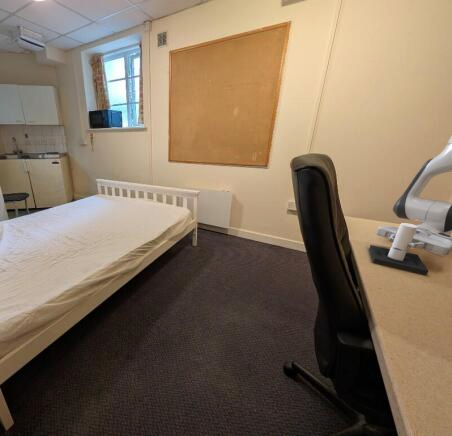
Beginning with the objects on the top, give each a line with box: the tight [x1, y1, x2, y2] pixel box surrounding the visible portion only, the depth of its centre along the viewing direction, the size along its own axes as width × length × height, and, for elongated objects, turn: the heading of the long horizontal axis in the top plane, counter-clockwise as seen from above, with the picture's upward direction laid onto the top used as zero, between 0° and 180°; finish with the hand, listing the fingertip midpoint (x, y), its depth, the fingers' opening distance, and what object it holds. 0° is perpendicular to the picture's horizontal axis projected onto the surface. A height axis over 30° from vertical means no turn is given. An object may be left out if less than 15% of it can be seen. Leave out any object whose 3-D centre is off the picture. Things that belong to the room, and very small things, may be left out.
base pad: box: [368, 244, 429, 276], centre depth 86 cm, size 14×14×2 cm
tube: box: [388, 222, 417, 261], centre depth 84 cm, size 4×4×15 cm
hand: (400, 242), depth 83 cm, fingers closed on tube, 4 cm apart
